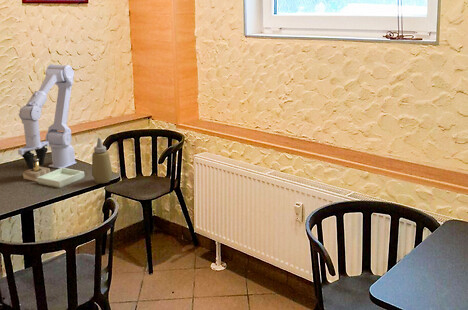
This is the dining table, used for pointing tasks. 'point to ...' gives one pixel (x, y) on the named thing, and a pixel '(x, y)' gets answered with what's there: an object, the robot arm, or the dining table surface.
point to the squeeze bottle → (101, 164)
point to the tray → (60, 177)
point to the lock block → (35, 173)
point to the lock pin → (36, 164)
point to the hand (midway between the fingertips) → (36, 166)
